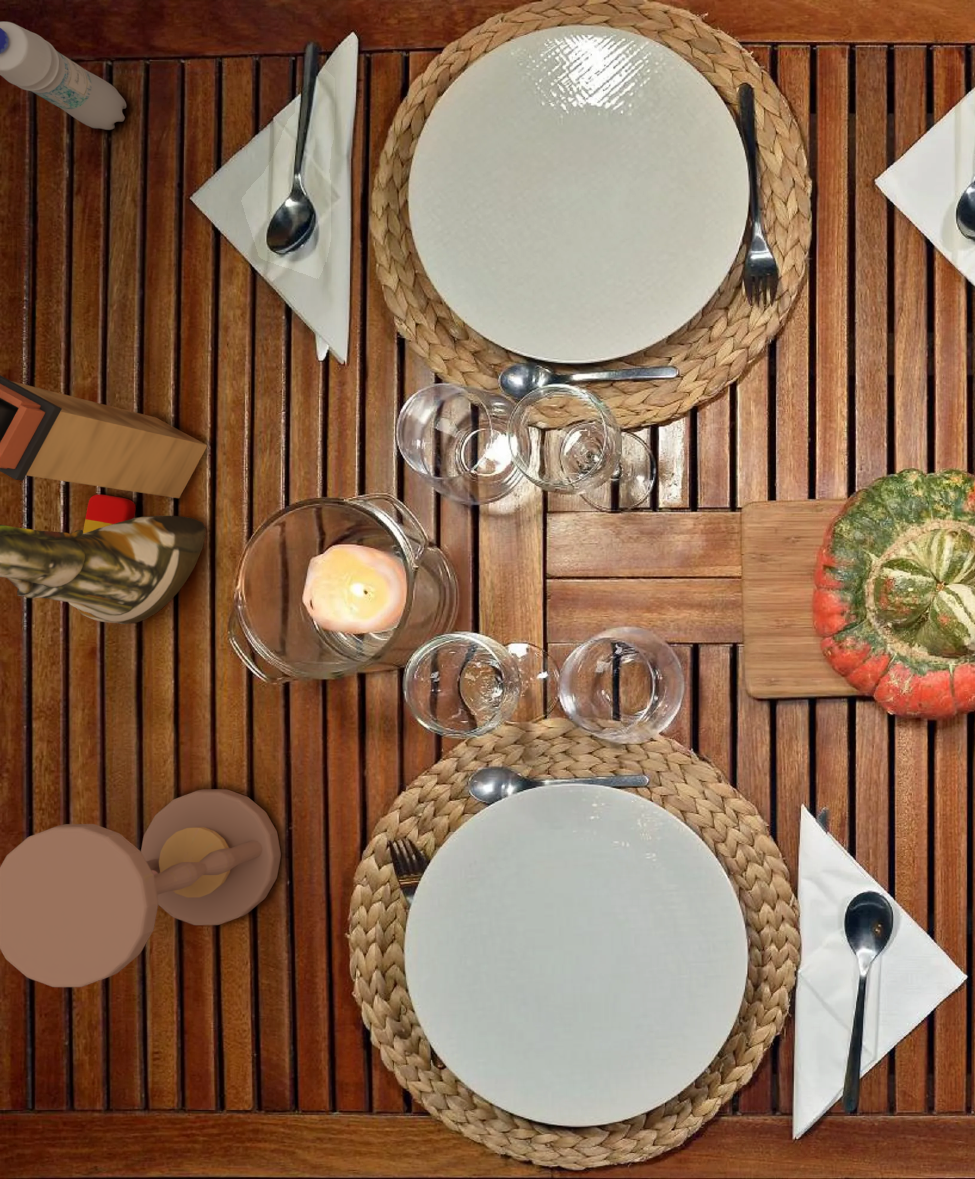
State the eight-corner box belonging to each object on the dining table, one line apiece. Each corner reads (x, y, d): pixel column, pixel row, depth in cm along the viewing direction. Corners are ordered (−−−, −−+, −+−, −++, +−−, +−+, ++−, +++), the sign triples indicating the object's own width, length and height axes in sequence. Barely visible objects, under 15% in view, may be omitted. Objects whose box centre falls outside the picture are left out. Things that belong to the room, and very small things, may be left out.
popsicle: (139, 500, 142) (128, 499, 140) (119, 612, 142) (108, 612, 140) (99, 493, 142) (88, 492, 140) (79, 604, 142) (67, 604, 140)
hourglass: (284, 790, 141) (148, 829, 116) (280, 923, 141) (142, 991, 116) (152, 786, 141) (-11, 824, 116) (147, 919, 141) (-18, 986, 116)
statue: (174, 496, 142) (-68, 460, 107) (237, 547, 142) (15, 527, 107) (97, 594, 142) (-170, 590, 107) (160, 645, 142) (-88, 657, 107)
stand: (127, 470, 142) (-42, 440, 117) (155, 417, 142) (-7, 376, 117) (179, 498, 142) (21, 474, 117) (207, 445, 142) (56, 410, 117)
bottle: (139, 128, 143) (12, 50, 123) (91, 142, 143) (-43, 65, 123) (126, 80, 143) (-2, -6, 123) (79, 94, 143) (-57, 10, 123)
